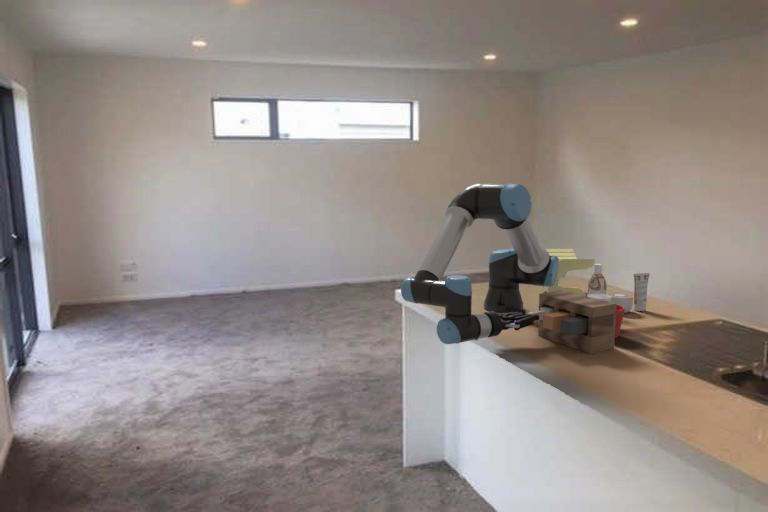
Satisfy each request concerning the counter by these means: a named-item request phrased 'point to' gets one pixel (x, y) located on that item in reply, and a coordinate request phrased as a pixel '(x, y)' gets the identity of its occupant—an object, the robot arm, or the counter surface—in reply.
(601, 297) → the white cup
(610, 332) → the box
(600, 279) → the cosmetic set
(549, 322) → the rust key
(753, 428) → the counter surface
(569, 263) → the slatted curved stool
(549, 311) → the sage key
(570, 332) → the slate key
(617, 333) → the flower pot
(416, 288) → the robot arm
